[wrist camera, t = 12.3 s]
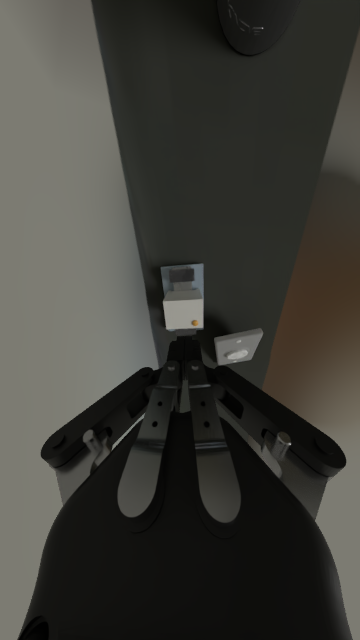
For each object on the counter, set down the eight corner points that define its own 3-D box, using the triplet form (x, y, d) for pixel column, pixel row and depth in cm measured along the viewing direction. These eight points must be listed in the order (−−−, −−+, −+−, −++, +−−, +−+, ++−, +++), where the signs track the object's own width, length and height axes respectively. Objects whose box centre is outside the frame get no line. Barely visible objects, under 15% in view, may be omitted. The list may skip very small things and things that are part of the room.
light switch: (219, 368, 36) (216, 347, 25) (213, 348, 40) (209, 320, 28) (252, 363, 35) (266, 337, 23) (244, 342, 38) (252, 311, 27)
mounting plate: (161, 266, 27) (160, 267, 26) (202, 263, 27) (203, 263, 25) (169, 328, 33) (169, 331, 32) (202, 326, 33) (203, 329, 31)
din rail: (170, 267, 26) (168, 269, 23) (193, 265, 25) (194, 267, 23) (176, 330, 32) (175, 336, 29) (195, 329, 31) (196, 335, 29)
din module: (168, 290, 27) (162, 301, 21) (199, 288, 27) (203, 299, 21) (170, 313, 30) (166, 330, 23) (199, 311, 29) (203, 328, 23)
